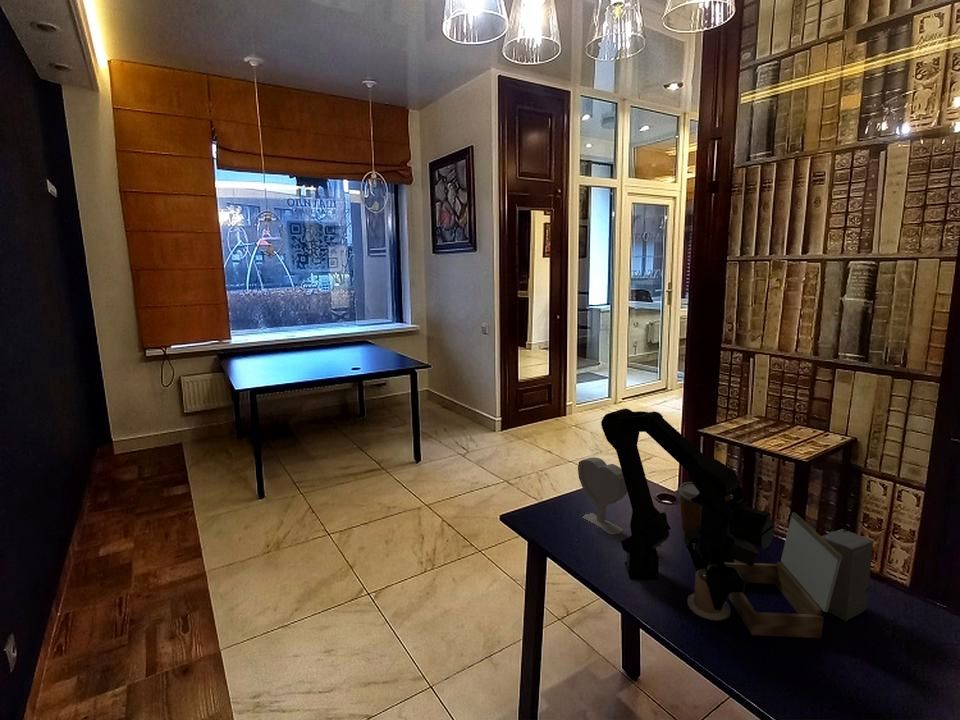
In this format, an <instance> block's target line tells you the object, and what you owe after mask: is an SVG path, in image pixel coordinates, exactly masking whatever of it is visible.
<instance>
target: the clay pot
mask: <svg viewBox="0 0 960 720" xmlns="http://www.w3.org/2000/svg"><path fill="white" fill-rule="evenodd" d="M710 567H713V566H712V564H711V563H709V565H708V568H704V569H700V570H698V571H697V572H696V571H695V577H694V578H695V579H694V588H693V589H694V591H693V593H694V604H695V606H696V607H697V608H698V609H700V610H702V611H704V612H707V613H719V612H720V611H721V610H722V608H721V610H715V609H714V606H713V603H712V600H711V597H710V593H709V590H708V587H707V584H706V580H707V578H706V571H707V570H708V569H709V568H710Z"/></svg>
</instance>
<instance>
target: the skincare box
mask: <svg viewBox="0 0 960 720" xmlns="http://www.w3.org/2000/svg"><path fill="white" fill-rule="evenodd" d="M820 536H821V537H822V538H823V539H824V540H825V541H827V542H828V543H829V544H830V545H831V546H832V547H833V548H834V549H835V550H836V551H837V552H838V553H840V554H841V555H842V556H843V557H842V561H841V562H840V566H839V570H838V574H837V578H836V582H835V585H834V589H833V593H832V597H831V601H830V605H829V608H828V612H827V613H830V614H832V615H833V616H835V617H837V618H839V619H841V620H842V621H844V622H848V621H849V620H850V619H852V618H855V617H857V616H859V615H861V614H862V613H863V612H865V611H866V610H867V607H868V596H869V587H870V577H871V568H872V558H873V557H872V556H873V547H874V540H873V539H870V538H868V537H865V536H862V535H859V534H858V533H855V532H852V531H850V530H846V529H843V528H841V529H838V530H835V531H830V532H829V533H827V534H824V535H820ZM815 603H816V602H815ZM816 604H817V603H816ZM817 605H818V604H817ZM818 606H819V605H818ZM819 607H820V606H819ZM820 608H821V607H820ZM821 609H822V608H821Z"/></svg>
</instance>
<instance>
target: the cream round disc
mask: <svg viewBox="0 0 960 720" xmlns="http://www.w3.org/2000/svg"><path fill="white" fill-rule="evenodd" d="M686 602H687V607H688V609H690V611H691V610H692V611H693V612H692V611H691V612H692V613H693V614H695V615H696V616H698V617H700V618H702V619H705V620H709V621H724V620H726V619H729V617H730V616H731V611H732V610H731V608H732V607H731V606H730V605H729V603H728V602H727V601H725V603H724V604H723V606H722V610H721V611H720V612H719V613H707V612H704V611H702V610H700V609H698V608H697V607H696V606H695V604H694V592H693V593H691V594H690V595H688V596H687V601H686Z"/></svg>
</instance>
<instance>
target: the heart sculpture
mask: <svg viewBox="0 0 960 720" xmlns="http://www.w3.org/2000/svg"><path fill="white" fill-rule="evenodd" d="M577 465H578V466H577V474H578V475H577V476H578V479H579V482H580V484H581V487H582V490H583V491H584V492H585V493H586V494H585V495H587V497H588V498H589V500H590V501H591V502H592V503H593V505H594V506H595V508H596V514H595V513H593V512H589V513H590V514H585V515H584V516H583V517H582V518H584V519H586V520H588V521H590V522H591V523H594V524H596V525H597V526H599V527H601V528H602V529H603V530H604V531H603V530H602V531H603V532H605V531H606V532H605V533H607V534H608V535H619V534H621V533H622V532H623V530H624V529H623V528H622V527H620V526H618V525H616V524H614V523H613V522H610V521H608V520H606V510H607V509H606V508H607V506H609V505H612V504H615V503H616V502H619V501H621V500H623V498H624V497H625V496H626V495H627V494H628V492H627V488H626V485H625V481H624V477H623V474H622V470H621V466H618V465H616V464H614V463H610V464H609V463H608V464H607V463H606V462H605V460H603V459H602V458H599V457H588V458H584V459H581V460H580V461H578V463H577Z"/></svg>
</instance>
